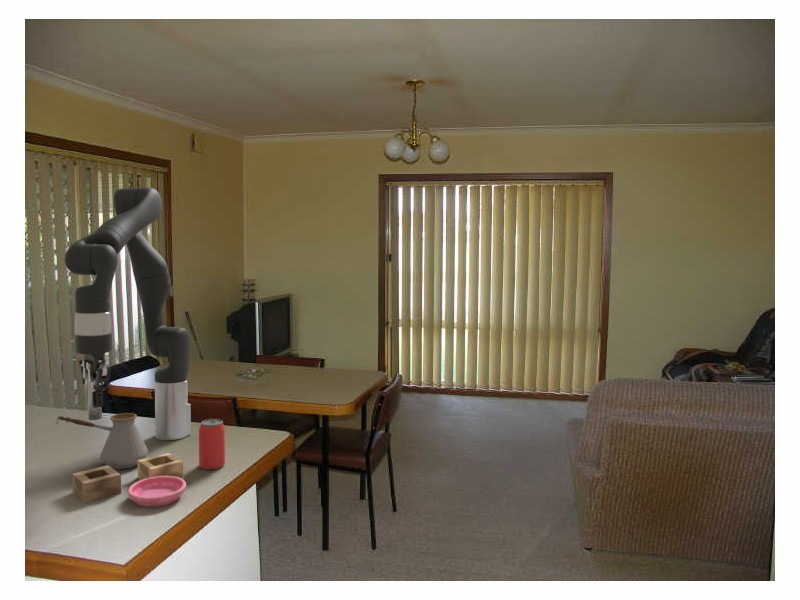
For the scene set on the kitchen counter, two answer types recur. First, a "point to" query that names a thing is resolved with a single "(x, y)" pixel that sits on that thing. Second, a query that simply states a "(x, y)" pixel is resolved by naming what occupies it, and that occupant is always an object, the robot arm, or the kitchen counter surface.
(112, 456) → the coffee pot
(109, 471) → the walnut block
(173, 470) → the oak block
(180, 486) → the saucer
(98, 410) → the pin
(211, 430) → the beer can
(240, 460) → the kitchen counter surface
